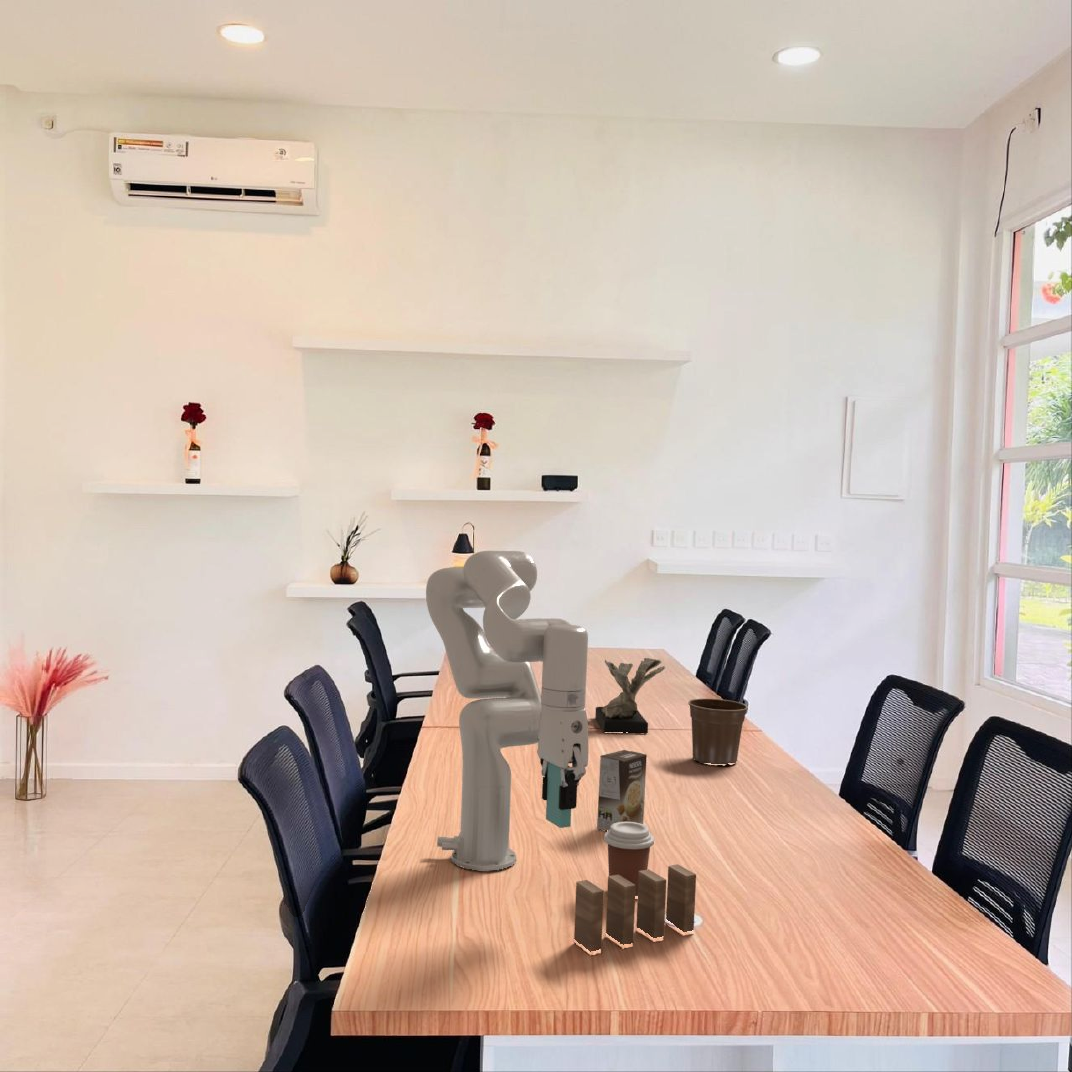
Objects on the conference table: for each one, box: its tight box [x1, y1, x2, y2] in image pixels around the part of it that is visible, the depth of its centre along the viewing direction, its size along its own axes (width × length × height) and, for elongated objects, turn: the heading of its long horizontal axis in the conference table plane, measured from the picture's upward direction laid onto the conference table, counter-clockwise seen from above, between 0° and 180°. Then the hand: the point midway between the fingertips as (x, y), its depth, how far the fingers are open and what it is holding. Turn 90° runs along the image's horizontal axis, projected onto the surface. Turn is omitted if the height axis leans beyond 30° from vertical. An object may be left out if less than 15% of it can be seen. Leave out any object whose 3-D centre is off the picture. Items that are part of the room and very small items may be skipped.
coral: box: [595, 657, 666, 734], centre depth 326 cm, size 25×20×21 cm
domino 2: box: [605, 875, 636, 945], centre depth 164 cm, size 2×5×10 cm, turn 29°
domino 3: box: [635, 868, 667, 938], centre depth 167 cm, size 2×5×10 cm, turn 29°
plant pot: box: [687, 698, 749, 764], centre depth 283 cm, size 16×16×16 cm
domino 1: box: [573, 879, 605, 952], centre depth 162 cm, size 2×5×10 cm, turn 29°
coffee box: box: [596, 749, 648, 831], centre depth 222 cm, size 9×6×16 cm
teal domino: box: [545, 763, 572, 829], centre depth 174 cm, size 2×5×10 cm, turn 29°
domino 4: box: [665, 864, 697, 932], centre depth 170 cm, size 2×5×10 cm, turn 29°
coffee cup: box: [603, 822, 655, 896], centre depth 185 cm, size 9×9×12 cm
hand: (558, 802), depth 174 cm, fingers closed on teal domino, 4 cm apart
